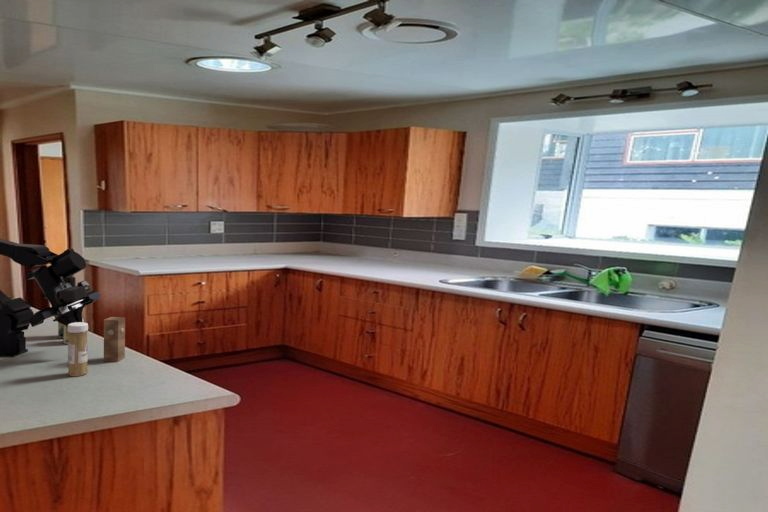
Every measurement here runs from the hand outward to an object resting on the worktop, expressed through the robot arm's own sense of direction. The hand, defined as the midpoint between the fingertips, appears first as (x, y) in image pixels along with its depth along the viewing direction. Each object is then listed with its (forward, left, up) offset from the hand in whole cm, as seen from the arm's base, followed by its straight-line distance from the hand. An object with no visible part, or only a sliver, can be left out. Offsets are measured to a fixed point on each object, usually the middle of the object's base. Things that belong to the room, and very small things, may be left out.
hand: (82, 333), depth 143 cm
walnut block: (+9, 0, -7) cm, 12 cm away
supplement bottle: (-11, +15, -7) cm, 20 cm away
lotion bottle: (-16, +21, -7) cm, 27 cm away
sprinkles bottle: (+6, -13, -7) cm, 16 cm away
